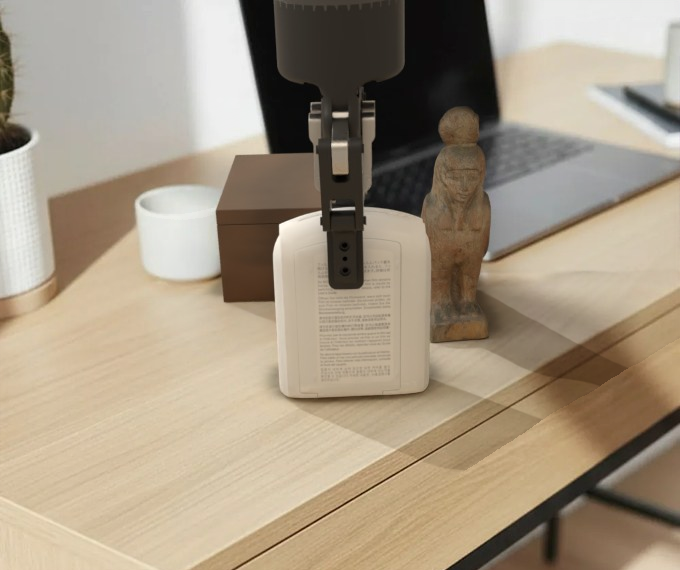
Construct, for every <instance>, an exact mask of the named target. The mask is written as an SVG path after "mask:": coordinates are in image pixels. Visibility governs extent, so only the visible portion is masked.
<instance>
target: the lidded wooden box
mask: <svg viewBox="0 0 680 570" xmlns="http://www.w3.org/2000/svg"><path fill="white" fill-rule="evenodd" d="M332 203H336V200H335V201H332ZM317 211H322V209H321V192H320V191H318V190H317V189H316V187H315V180H314V152H298V153H297V152H295V153H294V152H293V153H259V154H258V153H257V154H255V153H254V154H235V156H234V159H233V161H232V164H231V167H230V169H229V172H228V175H227V177H226V180H225V184H224V186H223V189H222V192H221V194H220V197H219V200H218V202H217V206H216V208H215V221H216V233H217V243H218V244H217V245H218V253H219V255H218V256H219V266H220V275H221V276H220V277H221V287H222V300H223V302H224V303H235V302H237V303H238V302H241V303H242V302H243V303H244V302H245V303H246V302H275V289H274V269H273V251H274V246H275V243H276V241H277V238H278V237H279V224H281V223H284V222H286V221H288V220H291V219H294V218H296V217H299V216H302V215H306V214H309V213H313V212H317Z"/></svg>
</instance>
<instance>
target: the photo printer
mask: <svg viewBox="0 0 680 570" xmlns="http://www.w3.org/2000/svg"><path fill="white" fill-rule="evenodd" d="M332 210H355V207H344V208H334V209H332ZM364 216H366V223H367V225H364V231H363V263H364V283H363V286H362V287H361V288H359V289H338V290H336V289H333V288H331V287H330V285H329V282H328V256H327V232H324V231H323V226H322V225H321V226H320V217H322V211H317V212H313V213H309V214H306V215H302V216H299V217H296V218H294V219H291V220H288V221H286V222H284V223H281V224H279V237H278V238H277V241H276V243H275V246H274V251H273V269H274V289H275V301H274V302H275V303H274V310H275V325H276V327H275V328H276V342H277V343H276V346H277V366H278V381H279V382H278V383H279V390H280V392H281V393H282V394H283V395H284V396H285V397H288V398H294V399H295V398H296V399H299V398H300V399H313V398H314V399H318V398H340V397H362V396H390V395H408V394H414V393H415V394H416V393H422V392H424V391H425V390H426V389H427V388H428V386H429V383H430V348H431V341H430V306H431V251H430V245H429V239H428V236H427V234H426V229H425V224H424V223H423V219H422V218H421V216H420V217H419V216H417V215H414V214H411V213H408V212H404V211H400V210H395V209H389V208H383V207H382V208H381V207H370V206H364Z"/></svg>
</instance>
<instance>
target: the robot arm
mask: <svg viewBox="0 0 680 570" xmlns="http://www.w3.org/2000/svg"><path fill="white" fill-rule="evenodd" d="M273 12H274V30H275V46H276V61H277V62H276V64H277V65H276V67H277V70H278V72H279V74H280V75H281V77H283V78H284V79H286V80H287V81H289V82H293V83H296V84H299V85H309V84H312V85H314V86H316V87H318V89H319V91H320V101H314V102H313V101H312V102H310V112H309V113H308V138H309V141H310V142H311V143H312V146H313V153H314V180H315V187H316V189H317V190H318V191H320V192H321V209H322V217H320V226H321V225H322V226H323V231H324V232H327V256H328V282H329V285H330V287H331V288H333V289H336V290H338V289H359V288H361V287H362V286H363V283H364V263H363V231H364V225H367V223H366V216H364V207H365V201H366V195H368V191H369V190H370V189H371V187H372V185H373V181H372V180H373V179H372V178H373V177H372V174H373V173H372V171H373V170H372V169H373V149H372V148H373V144H372V143H373V142H374V140H375V139H376V100H367V92H365V91H364V90H365V89H364V85H365V84H366V83H380V82H384V81H387V80H391V79H393V78H394V77H396V76H397V75H399V74H400V73H401V72H402V71H403V69H404V66H405V62H406V60H405V54H406V53H405V50H406V49H405V45H406V43H405V39H406V38H405V32H406V31H405V0H273ZM335 200H336V203H332V201H335ZM344 207H355V210H332V209H334V208H344Z"/></svg>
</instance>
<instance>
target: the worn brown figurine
mask: <svg viewBox="0 0 680 570" xmlns="http://www.w3.org/2000/svg"><path fill="white" fill-rule="evenodd" d="M479 123H480V116H479V115H478V113H475V111H474V110H473V108H471V107H469V106H467V105H464V106H462V105H461V106H454V107H451V108H449V109H448V110H447V111H446V112H445V113H444V114H443V116H442V117H441V118H440V120H439V121H438V126H437V128H438V129H437V131H438V134H439V137H440V139H441V140H442V142H443V143H444V145H445V146H444V147H443V148H441V150H440V151H439V153H438V155H437V156H436V160H435V162H434V166H433V167H434V168H433V178H432V186H431V189H430V192H428V193H427V194H426V195H425V197H424V199H423V204H422V208H421V209H422V210H421V212H420V213H421V214H420V218H422V219H423V223H424V224H425V229H426V234H427V236H428V239H429V245H430V251H431V306H430V343H440V342H452V341H453V342H454V341H465V340H479V339H486V338H489V335H490V334H489V331H488V318H487V316H486V315H485V312H484V310H483V309H482V307H481V306H480V304H479V302H478V300H477V298H476V297H477V296H476V295H477V289H478V282H479V278H480V274H481V269H482V265H483V259H484V258H485V256H486V255H487V253H488V250H489V245H490V237H491V236H490V235H491V227H492V226H491V225H492V206H491V200H490V196H489V194H488V193H487V191H484V184H485V178H486V171H487V170H486V169H487V167H486V158H485V154H484V153H485V152H484V151H483V149H482V148H481V147H480V146H479V145H478V141H479V137H480V124H479Z"/></svg>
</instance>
